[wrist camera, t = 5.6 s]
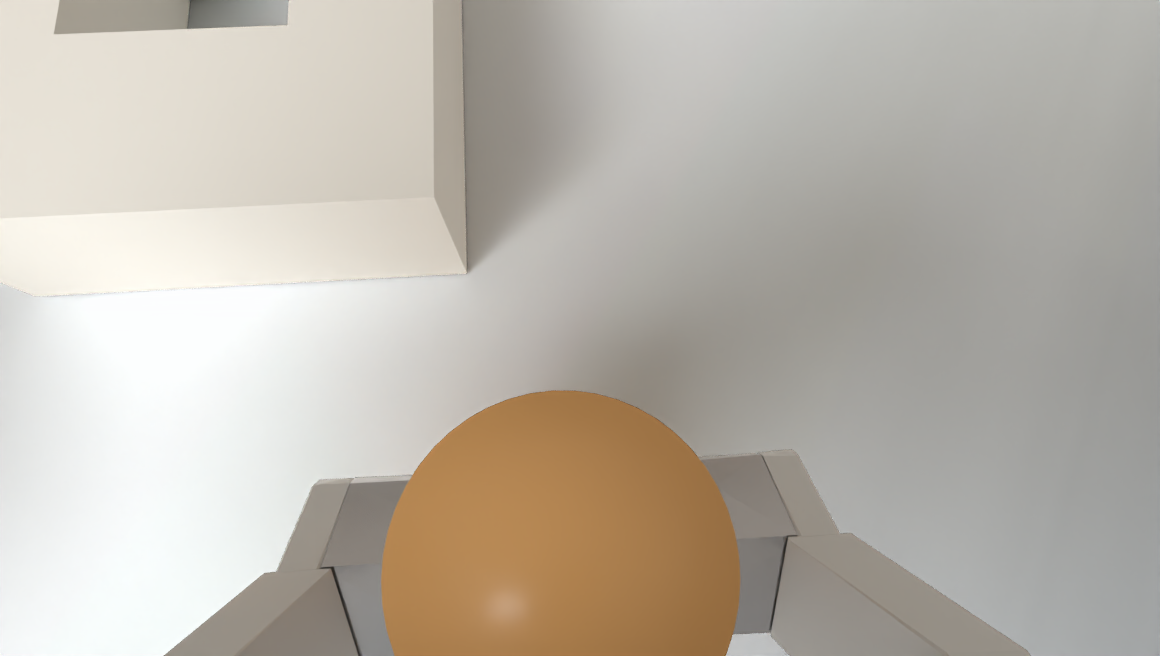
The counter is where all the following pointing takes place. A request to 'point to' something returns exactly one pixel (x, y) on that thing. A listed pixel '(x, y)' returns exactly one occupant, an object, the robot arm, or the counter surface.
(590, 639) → the pin
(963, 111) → the counter surface
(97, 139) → the housing
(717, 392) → the counter surface
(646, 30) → the counter surface
